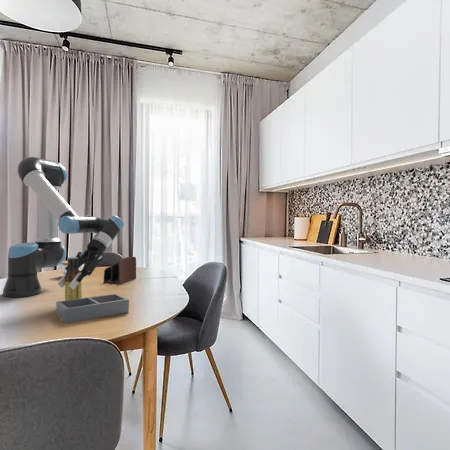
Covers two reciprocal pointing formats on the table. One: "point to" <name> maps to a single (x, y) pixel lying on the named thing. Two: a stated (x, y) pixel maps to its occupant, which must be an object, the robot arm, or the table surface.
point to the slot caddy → (91, 307)
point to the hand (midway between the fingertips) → (65, 286)
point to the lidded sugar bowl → (65, 264)
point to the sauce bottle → (69, 278)
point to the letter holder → (121, 271)
